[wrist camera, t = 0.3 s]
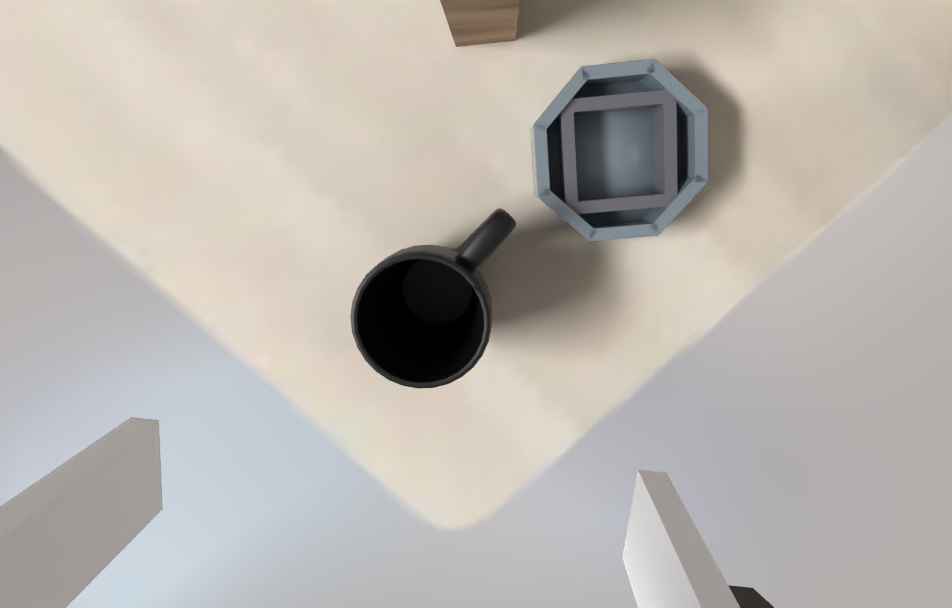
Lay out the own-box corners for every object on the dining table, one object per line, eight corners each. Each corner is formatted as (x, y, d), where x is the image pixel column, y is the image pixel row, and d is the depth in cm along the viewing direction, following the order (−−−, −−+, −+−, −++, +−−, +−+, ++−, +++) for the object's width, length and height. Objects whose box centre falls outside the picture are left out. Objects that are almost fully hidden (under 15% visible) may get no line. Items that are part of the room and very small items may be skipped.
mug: (552, 248, 41) (567, 269, 32) (442, 364, 44) (427, 416, 34) (467, 169, 40) (457, 169, 31) (359, 293, 43) (321, 326, 33)
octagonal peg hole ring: (527, 80, 39) (529, 71, 35) (689, 64, 38) (707, 53, 35) (537, 239, 41) (540, 245, 38) (690, 226, 41) (707, 231, 37)
